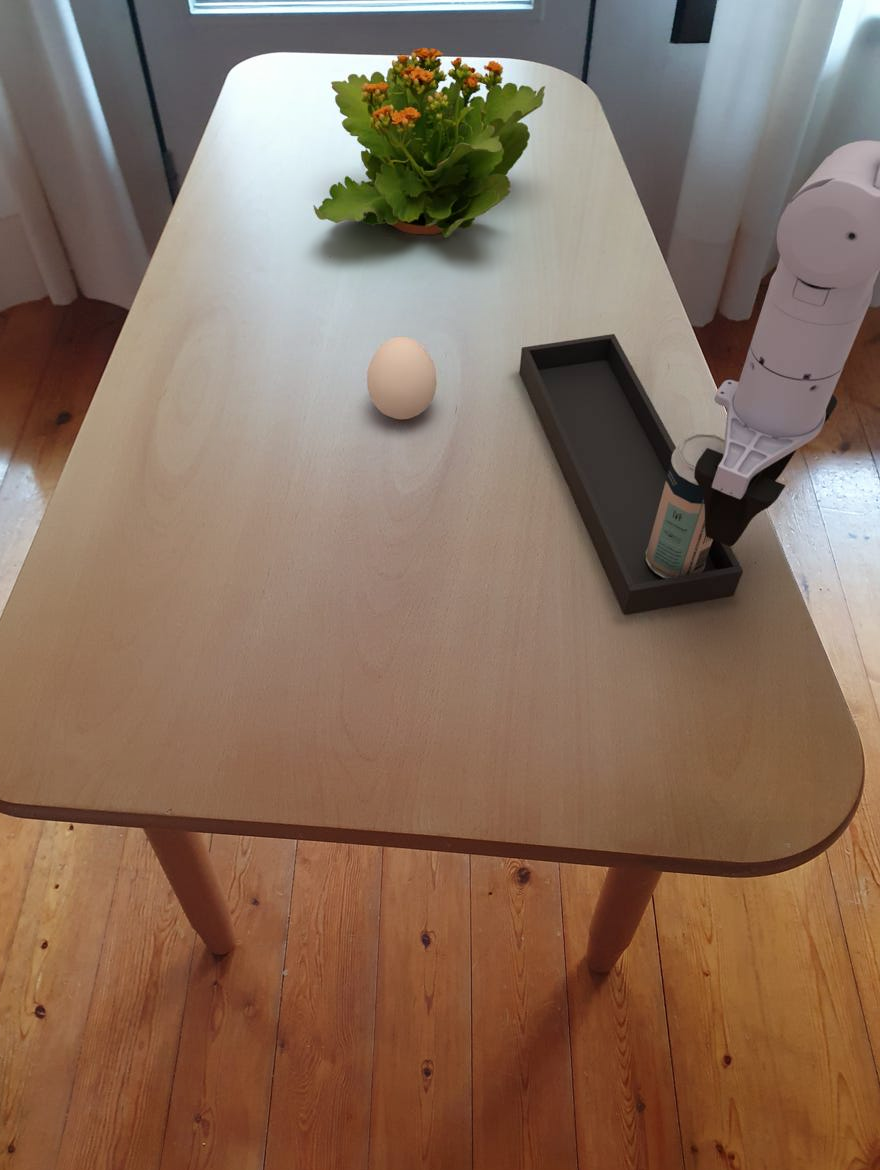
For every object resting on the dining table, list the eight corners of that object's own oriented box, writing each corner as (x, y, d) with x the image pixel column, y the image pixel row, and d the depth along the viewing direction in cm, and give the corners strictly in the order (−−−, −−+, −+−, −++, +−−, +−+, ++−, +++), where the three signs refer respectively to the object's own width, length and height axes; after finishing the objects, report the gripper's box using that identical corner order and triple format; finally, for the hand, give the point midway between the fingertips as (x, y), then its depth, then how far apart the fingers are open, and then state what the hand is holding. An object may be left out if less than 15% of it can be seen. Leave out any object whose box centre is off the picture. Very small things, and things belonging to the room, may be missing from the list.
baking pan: (733, 595, 78) (743, 571, 76) (623, 615, 77) (630, 590, 75) (609, 359, 96) (614, 333, 93) (519, 372, 95) (521, 347, 93)
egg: (392, 382, 95) (389, 311, 88) (449, 404, 92) (450, 333, 86) (355, 420, 91) (350, 349, 85) (413, 444, 89) (412, 373, 83)
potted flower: (343, 152, 121) (332, -7, 107) (536, 158, 119) (550, -3, 105) (313, 269, 106) (296, 103, 92) (532, 277, 104) (549, 109, 90)
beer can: (701, 542, 81) (738, 431, 71) (706, 587, 78) (746, 477, 68) (642, 539, 81) (671, 428, 71) (645, 583, 78) (676, 473, 69)
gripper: (780, 274, 65) (730, 429, 76) (688, 392, 58) (647, 545, 69) (885, 308, 63) (818, 464, 74) (802, 436, 56) (741, 587, 67)
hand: (741, 506), depth 71 cm, fingers open, 7 cm apart
